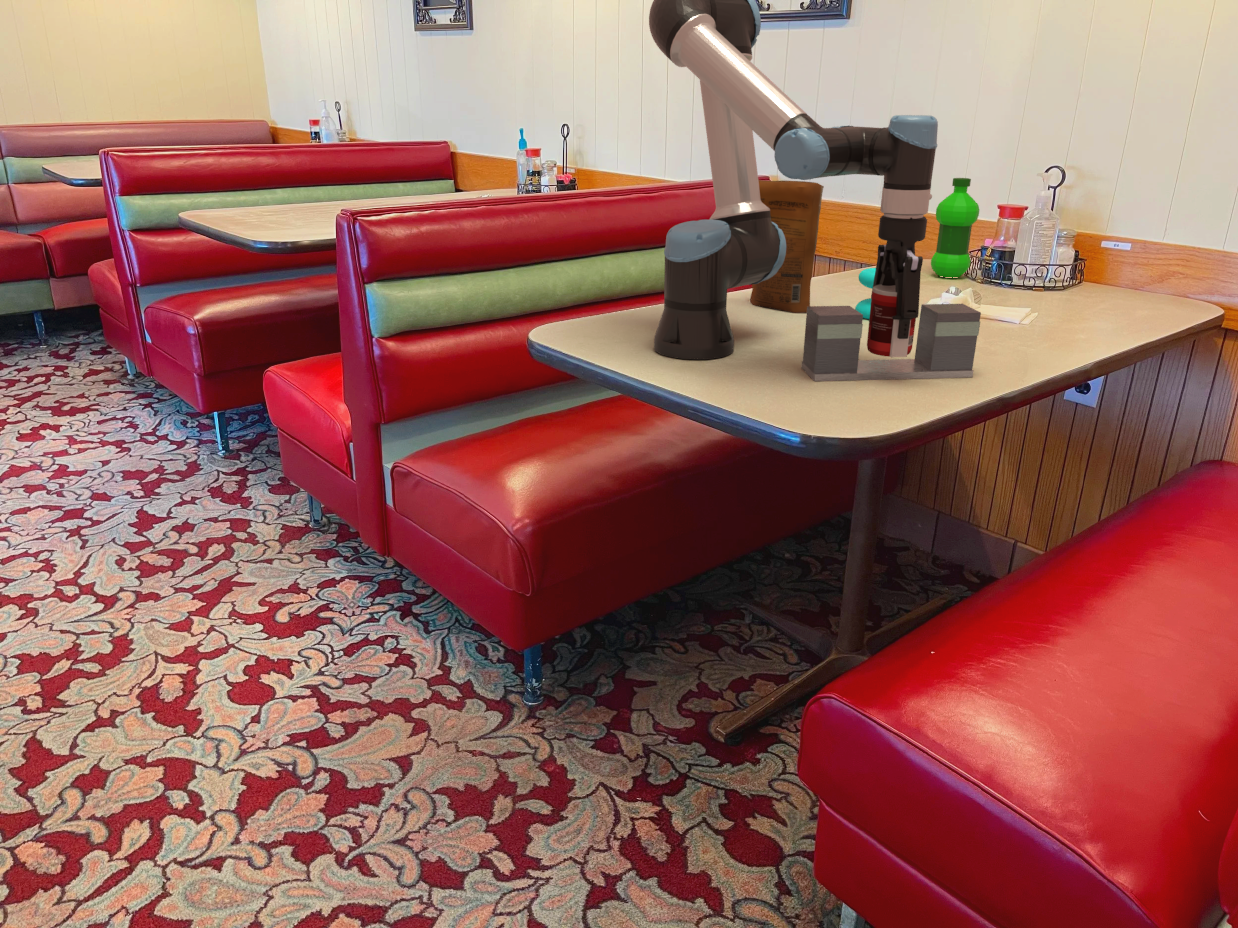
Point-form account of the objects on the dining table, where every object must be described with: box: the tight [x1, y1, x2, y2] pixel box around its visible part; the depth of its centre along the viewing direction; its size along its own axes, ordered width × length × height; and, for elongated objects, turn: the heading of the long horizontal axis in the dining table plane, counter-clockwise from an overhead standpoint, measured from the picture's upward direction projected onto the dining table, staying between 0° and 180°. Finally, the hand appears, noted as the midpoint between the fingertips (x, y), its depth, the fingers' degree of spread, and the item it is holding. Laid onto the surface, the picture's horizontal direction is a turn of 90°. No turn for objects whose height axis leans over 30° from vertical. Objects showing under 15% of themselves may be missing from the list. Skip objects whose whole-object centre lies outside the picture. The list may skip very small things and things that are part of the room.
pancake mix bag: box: [749, 179, 824, 314], centre depth 205 cm, size 7×19×28 cm, turn 46°
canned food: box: [866, 284, 917, 358], centre depth 159 cm, size 8×8×11 cm
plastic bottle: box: [930, 177, 980, 278], centre depth 241 cm, size 10×10×25 cm
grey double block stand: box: [801, 303, 982, 382], centre depth 160 cm, size 28×8×11 cm, turn 96°
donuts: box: [854, 267, 876, 320], centre depth 201 cm, size 10×10×10 cm
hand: (888, 349), depth 161 cm, fingers closed on canned food, 8 cm apart
